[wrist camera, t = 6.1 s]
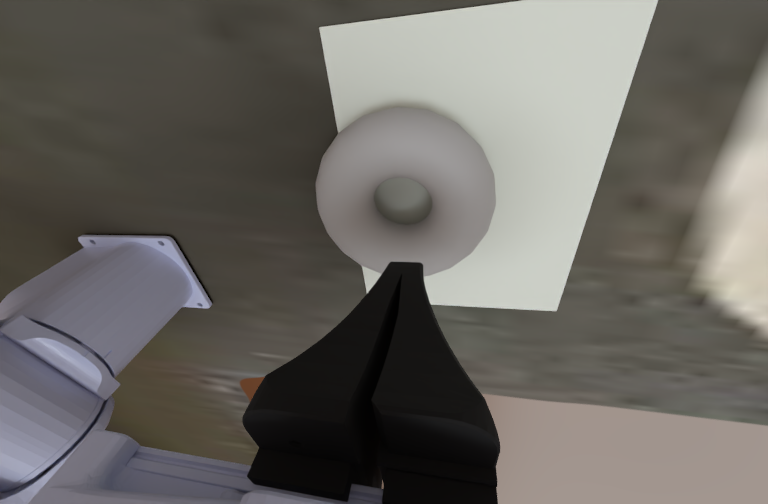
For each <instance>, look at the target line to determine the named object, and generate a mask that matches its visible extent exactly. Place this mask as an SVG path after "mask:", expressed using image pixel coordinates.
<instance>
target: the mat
mask: <svg viewBox="0 0 768 504" xmlns="http://www.w3.org/2000/svg"><path fill="white" fill-rule="evenodd" d="M657 2H658V0H522V1H515V2H507V3H500V4H492V5H484V6H477V7H469V8H462V9H454V10H447V11H439V12H431V13H424V14H416V15H409V16H401V17H393V18H386V19H378V20H371V21H363V22H356V23H348V24H340V25H333V26H325V27H319V29H320V35H321V40H322V46H323V51H324V57H325V63H326V68H327V74H328V79H329V85H330V90H331V96H332V102H333V107H334V113H335V118H336V124H337V129H338V133H339V132H340V131H342V130H343V129H344V128H346V127H347V126H349V125H350V124H352V123H353V122H355V121H356V120H357V119H359V118H360V117H362V116H363V115H366V114H370V113H374V112H378V111H382V110H385V109H389V108H393V107H406V108H417V109H428V110H431V111H433V112H435V113H437V114H439V115H441V116H444V117H446V118H448V119H450V120H452V121H454V122H456V123H458V124H459V125H460V126H461V127H462V128H463V129H464V130H465V131H466V132H467V133H468V134H469V135H470V136H471V137H472V138H473V139H474V140H475V141H476V142H477V143H478V144H479V145H480V146H481V147H482V149H483V151H484V153H485V155H486V157H487V160H488V162H489V164H490V166H491V168H492V170H493V173H494V178H495V193H496V207H495V210H494V213H493V216H492V220H491V223H490V226H489V230H488V232H487V233H486V235H485V236H484V237H483V239H482V240H481V241H480V243H479V244H478V246H477V247H476V248H475V250H474V251H473V252H472V253H471V254H470V255H468V256H467V257H466V258H464V259H463V260H461V261H460V262H459V263H457V264H456V265H454V266H453V267H452V268H450V269H447V270H444V271H441V272H438V273H436V274H433V275H430V276H424V283H425V288H426V292H427V295H428V298H429V302H430V304H433V305H451V306H470V307H488V308H507V309H525V310H544V311H557V308H558V305H559V302H560V299H561V296H562V293H563V290H564V287H565V284H566V281H567V277H568V274H569V271H570V268H571V265H572V262H573V259H574V256H575V253H576V250H577V247H578V244H579V241H580V238H581V235H582V232H583V228H584V225H585V222H586V219H587V216H588V213H589V210H590V207H591V204H592V201H593V198H594V195H595V192H596V189H597V186H598V183H599V180H600V176H601V173H602V170H603V167H604V164H605V161H606V158H607V155H608V152H609V149H610V146H611V143H612V140H613V137H614V134H615V131H616V128H617V124H618V121H619V118H620V115H621V112H622V109H623V106H624V103H625V100H626V97H627V94H628V91H629V88H630V85H631V82H632V79H633V75H634V72H635V69H636V66H637V63H638V60H639V57H640V54H641V51H642V48H643V45H644V42H645V39H646V36H647V33H648V30H649V27H650V23H651V20H652V17H653V14H654V11H655V8H656V5H657ZM374 201H375V204H376V207H377V209H378V211H379V212H380V213H381V214H382V215H383V216H384V217H385V218H387V219H388V220H390V221H393V222H395V223H398V224H406V225H408V224H415V223H418V222H420V221H422V220H423V219H424V218H426V217H427V216H428V215H429V213H430V212H431V209H432V198H431V196H430V194H429V192H428V191H427V189H426V188H424V187H423V186H422V185H421V184H420V183H418V182H416V181H414V180H411V179H409V178H400V177H398V178H393V179H388V180H386V181H385V182H383V183H381V184H380V185H379V186H378V187H377V189H376V192H375V194H374ZM362 268H363V274H364V280H365V285H366V291H367V293H368V292H369V291H370V289H371V288H372V287H373V286H374V284H375V283H376V282H377V280H378V279H379V277H380V276H381V275H382V274H381V273H378V272H376V271H373V270H371V269H369V268H366V267H364V266H362Z"/></svg>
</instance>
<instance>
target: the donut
mask: <svg viewBox="0 0 768 504" xmlns="http://www.w3.org/2000/svg"><path fill="white" fill-rule="evenodd" d="M398 177H400V178H409V179H411V180H414V181H416V182H418V183H420V184H421V185H422V186H423V187H424V188H426V189H427V191H428V192H429V194H430V196H431V198H432V209H431V212H430V213H429V215H428V216H427V217H426V218H424V219H423V220H422V221H420V222H418V223H415V224H408V225H406V224H398V223H395V222H393V221H390V220H388V219H387V218H385V217H384V216H383V215H382V214H381V213H380V212H379V211H378V209H377V207H376V204H375V201H374V194H375V192H376V189H377V187H378V186H379V185H380V184H381V183H383V182H385V181H386V180H388V179H393V178H398ZM315 186H316V196H317V207H318V212H319V214H320V217H321V219H322V221H323V224H324V226H325V228H326V231H327V233H328V235H329V236H330V237H331V238H332V240H333V241H334V242H335V243H336V244H337V246H338V247H339V248H340V249H341V251H342V252H343V253H345V254H346V255H347V256H349V257H350V258H352V259H353V260H354V261H356V262H357V263H359V264H360V265H361V266H364V267H366V268H369V269H371V270H373V271H376V272H378V273H381V274H382V273H383V272H384V270H385V269H386V267H387V265H388V264H389V263H390V262H421V263H422V264H423V272H424V276H430V275H433V274H436V273H438V272H441V271H444V270H447V269H450V268H452V267H453V266H454V265H456V264H457V263H459V262H460V261H461V260H463V259H464V258H466V257H467V256H468V255H470V254H471V253H472V252H473V251H474V250H475V248H476V247H477V246H478V244H479V243H480V241H481V240H482V239H483V237H484V236H485V235H486V233H487V232H488V230H489V226H490V223H491V220H492V216H493V213H494V210H495V207H496V193H495V178H494V173H493V170H492V168H491V166H490V164H489V162H488V160H487V157H486V155H485V153H484V151H483V149H482V147H481V146H480V145H479V144H478V143H477V142H476V141H475V140H474V139H473V138H472V137H471V136H470V135H469V134H468V133H467V132H466V131H465V130H464V129H463V128H462V127H461V126H460V125H459V124H458V123H456V122H454V121H452V120H450V119H448V118H446V117H444V116H441V115H439V114H437V113H435V112H433V111H431V110H428V109H417V108H406V107H393V108H389V109H385V110H382V111H378V112H374V113H370V114H366V115H363V116H362V117H360V118H359V119H357V120H356V121H355V122H353V123H352V124H350V125H349V126H347V127H346V128H344V129H343V130H342V131H340V132H339V133H338V135H337V136H336V138H335V139H334V140H333V142H332V143H331V145H330V146H329V148H328V149H327V151H326V152H325V153H324V155H323V157H322V160H321V164H320V168H319V172H318V176H317V180H316V184H315Z"/></svg>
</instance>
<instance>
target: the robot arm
mask: <svg viewBox="0 0 768 504" xmlns="http://www.w3.org/2000/svg"><path fill="white" fill-rule="evenodd" d="M78 241H79V242H80V243H81V244H82V246H83V247H84V248H82V249H81V250H79V251H77V252H76V253H74V254H72V255H71V256H69V257H67V258H66V259H64V260H62V261H61V262H59V263H57V264H56V265H54V266H52V267H51V268H49V269H47V270H46V271H44V272H43V273H41V274H39V275H38V276H36V277H34V278H33V279H31V280H29V281H28V282H26V283H24V284H23V285H21V286H19V287H18V288H16V289H15V290H13V291H12V292H11V293H9V294H8V295H7V296H6V297H5V298H4V299H3V300H2V302H1V303H0V504H498V502H497V492H496V487H497V476H496V463H497V460H498V456H499V453H500V442H499V438H498V433H497V430H496V427H495V424H494V421H493V418H492V416H491V413H490V411H489V408H488V406H487V403H486V401H485V399H484V397H483V396H482V394H481V393H480V392H479V391H478V389H477V388H476V387H475V385H474V384H473V382H472V381H471V380H470V378H469V377H468V375H467V374H466V372H465V371H464V369H463V368H462V366H461V365H460V363H459V362H458V360H457V358H456V357H455V355H454V353H453V352H452V350H451V348H450V347H449V345H448V343H447V341H446V339H445V337H444V335H443V333H442V331H441V329H440V327H439V325H438V322H437V320H436V318H435V315H434V313H433V310H432V307H431V305H430V302H429V298H428V295H427V292H426V288H425V283H424V272H423V264H422V263H421V262H390V263H389V264H388V265H387V267H386V269H385V270H384V272H383V273H382V275H381V276H380V277H379V279H378V280H377V282H376V283H375V284H374V286H373V287H372V288H371V289H370V291H369V292H368V293H367V295H366V296H365V297H364V298H363V299H362V300H361V302H360V303H359V304H358V305H357V306H356V307H355V308H354V310H353V311H352V312H351V313H350V314H349V315H348V316H347V317H346V318H345V319H344V320H343V321H342V322H341V323H339V324H338V325H337V326H336V327H335V328H334V329H333V330H332V331H330V332H329V333H328V334H327V335H326V336H325V337H323V338H322V339H321V340H320V341H318V342H317V343H316V344H314V345H313V346H312V347H310V348H309V349H307V350H306V351H305V352H303V353H302V354H300V355H299V356H297V357H296V358H294V359H293V360H291V361H290V362H288V363H286V364H284V365H283V366H281V367H279V368H278V369H276V370H274V371H273V372H271V373H269V374H267V375H266V376H265V378H264V380H263V381H262V383H261V384H260V386H259V387H258V389H257V391H256V393H255V394H254V396H253V398H252V400H251V402H250V404H249V406H248V408H247V409H246V411H245V413H244V415H243V425H244V427H245V429H246V431H247V432H248V433H249V434H250V436H251V437H252V438H253V440H254V441H255V442H256V444H257V445H258V446H259V450H258V452H257V455H256V457H255V459H254V461H253V463H252V466H250V465H244V464H239V463H233V462H227V461H222V460H216V459H210V458H205V457H199V456H194V455H188V454H182V453H177V452H171V451H165V450H160V449H154V448H148V447H143V446H139V444H138V443H137V442H136V441H135V440H134V439H132V438H131V437H129V436H127V435H124V434H121V433H116V432H111V431H105V428H106V427H107V425H108V423H109V421H110V418H111V414H112V411H113V408H114V399H113V397H112V396H111V395H112V393H113V392H114V391H115V390H116V389H117V388H118V387H119V386H120V383H119V382H118V381H116V380H115V379H114V378H115V377H116V376H117V375H118V374H119V373H120V372H121V371H122V370H123V369H124V368H125V366H126V365H127V364H128V363H129V362H130V361H131V360H132V359H133V358H134V357H135V356H136V355H137V354H138V353H139V352H140V351H141V350H142V349H143V348H144V347H145V345H146V344H147V343H148V342H149V341H150V340H151V339H152V338H153V337H154V336H155V335H156V334H157V333H158V332H159V331H160V330H161V329H162V328H163V327H164V325H165V324H166V323H167V322H168V321H169V320H170V319H171V318H172V317H173V316H174V315H175V314H176V313H177V312H178V311H179V310H180V309H181V308H182V307H193V308H210V307H211V306H212V303H211V301H210V299H209V297H208V296H207V294H206V292H205V291H204V289H203V287H202V286H201V284H200V282H199V281H198V279H197V277H196V276H195V274H194V272H193V271H192V269H191V267H190V266H189V264H188V262H187V261H186V259H185V257H184V256H183V254H182V252H181V251H180V249H179V247H178V245H177V244H176V242H175V241H174V239H173V238H171V237H169V236H135V235H81V236H80V237H78ZM382 480H383V483H384V489H381V486H382Z"/></svg>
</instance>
